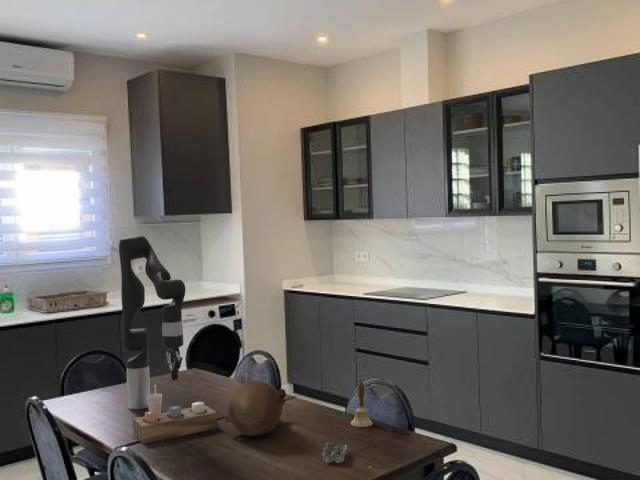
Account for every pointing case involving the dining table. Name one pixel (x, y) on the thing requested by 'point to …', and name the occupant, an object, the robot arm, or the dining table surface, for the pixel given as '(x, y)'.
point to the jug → (255, 408)
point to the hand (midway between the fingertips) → (174, 379)
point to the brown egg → (151, 416)
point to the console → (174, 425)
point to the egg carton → (334, 453)
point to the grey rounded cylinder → (175, 412)
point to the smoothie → (154, 401)
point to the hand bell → (361, 410)
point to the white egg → (198, 407)
